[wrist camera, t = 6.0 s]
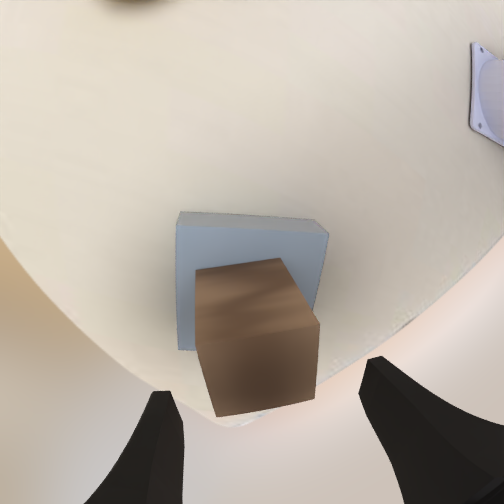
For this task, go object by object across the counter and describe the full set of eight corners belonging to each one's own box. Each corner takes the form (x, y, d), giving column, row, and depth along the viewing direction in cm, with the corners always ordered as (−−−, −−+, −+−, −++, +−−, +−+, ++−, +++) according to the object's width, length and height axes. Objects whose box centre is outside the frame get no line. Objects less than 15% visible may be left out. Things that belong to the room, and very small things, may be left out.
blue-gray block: (311, 217, 18) (329, 233, 16) (291, 322, 21) (302, 349, 19) (181, 209, 17) (176, 225, 14) (180, 321, 20) (178, 349, 17)
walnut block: (280, 257, 16) (319, 323, 10) (283, 324, 18) (314, 398, 12) (195, 269, 15) (195, 345, 10) (209, 336, 17) (216, 417, 12)
